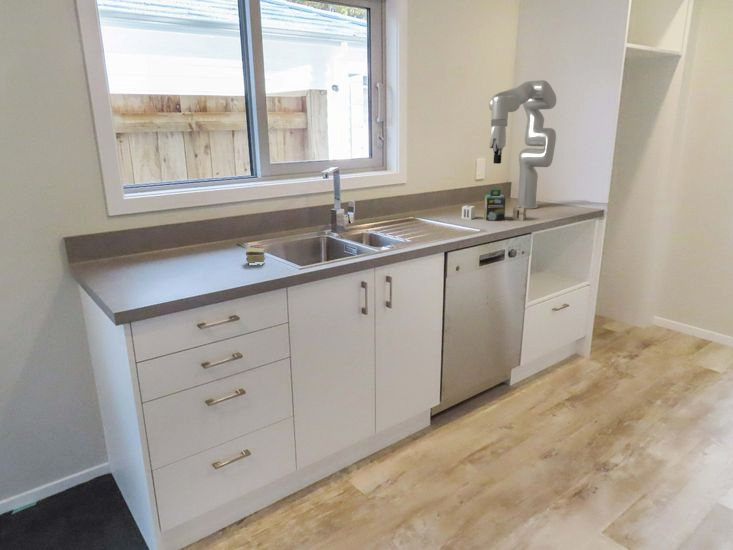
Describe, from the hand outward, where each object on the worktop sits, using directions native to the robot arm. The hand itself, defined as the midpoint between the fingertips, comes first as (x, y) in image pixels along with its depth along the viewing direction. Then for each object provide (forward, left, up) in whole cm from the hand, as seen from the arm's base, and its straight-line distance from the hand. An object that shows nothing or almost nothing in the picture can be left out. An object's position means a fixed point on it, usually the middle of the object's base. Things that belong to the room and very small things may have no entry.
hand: (497, 163), depth 249 cm
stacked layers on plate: (+119, -46, -28) cm, 131 cm away
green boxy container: (0, 0, -27) cm, 27 cm away
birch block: (-5, +11, -27) cm, 30 cm away
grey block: (+4, -12, -27) cm, 30 cm away
